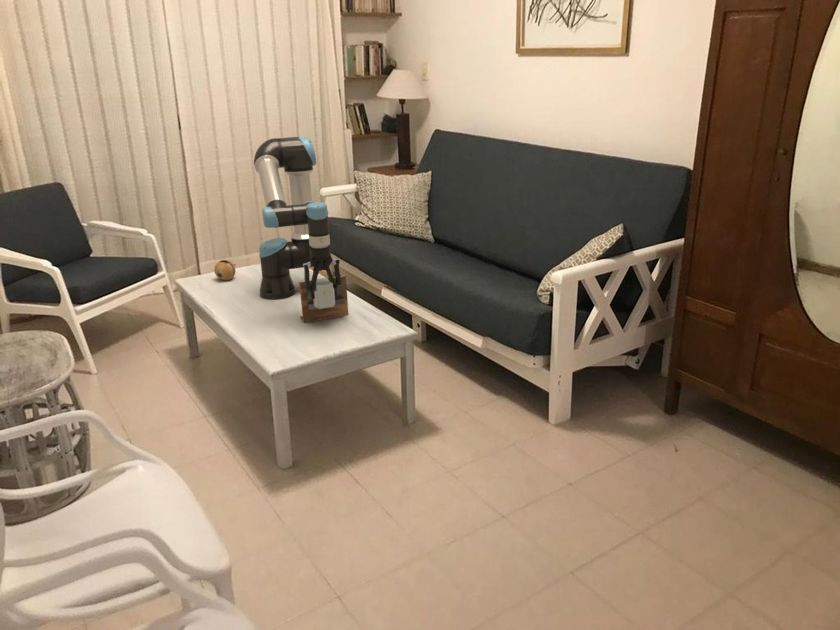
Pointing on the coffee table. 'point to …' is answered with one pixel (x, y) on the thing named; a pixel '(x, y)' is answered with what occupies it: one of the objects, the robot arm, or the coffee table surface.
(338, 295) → the brown wooden rack
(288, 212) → the robot arm
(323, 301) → the grey-green box
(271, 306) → the coffee table surface
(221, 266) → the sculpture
